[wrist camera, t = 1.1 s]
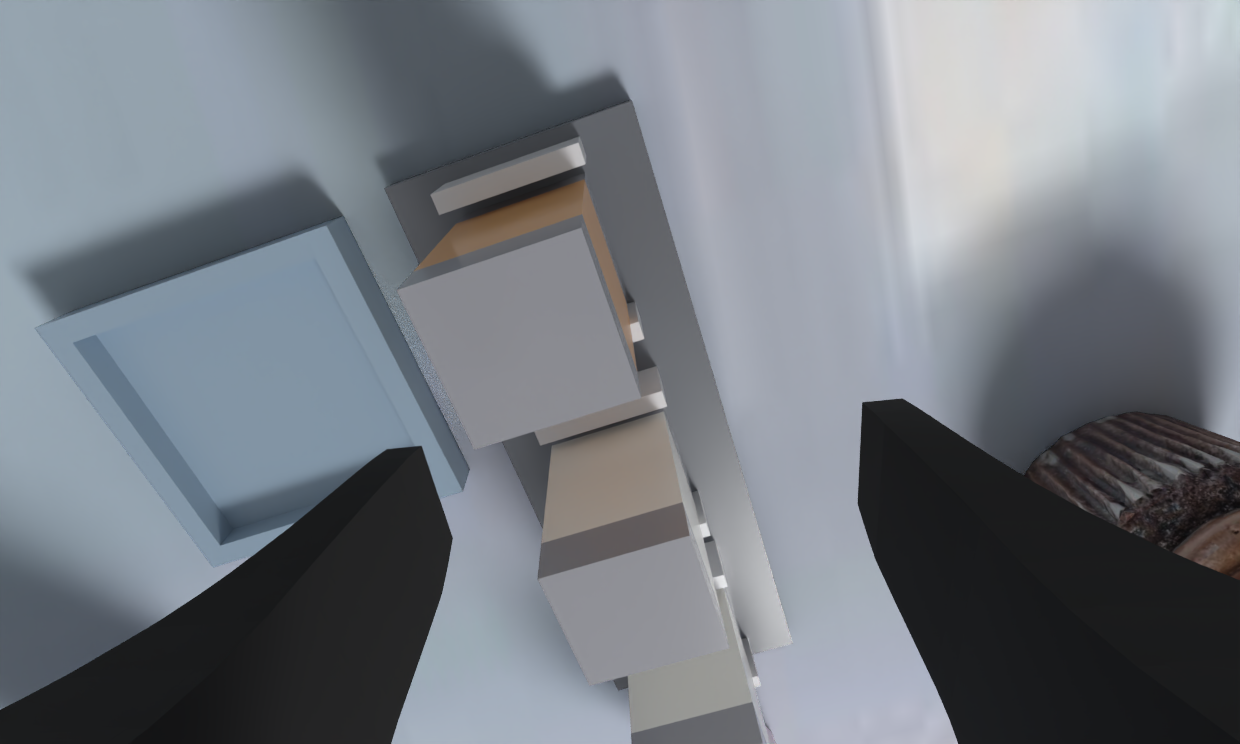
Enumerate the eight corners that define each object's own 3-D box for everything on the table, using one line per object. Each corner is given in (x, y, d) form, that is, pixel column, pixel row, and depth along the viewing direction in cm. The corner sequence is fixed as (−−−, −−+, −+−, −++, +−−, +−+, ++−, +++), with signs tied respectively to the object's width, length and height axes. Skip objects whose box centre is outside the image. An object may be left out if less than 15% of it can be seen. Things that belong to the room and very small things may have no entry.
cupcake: (1114, 347, 25) (1421, 509, 16) (1277, 459, 27) (1627, 656, 18) (940, 531, 28) (1110, 755, 19) (1099, 617, 30) (1319, 853, 21)
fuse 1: (590, 512, 26) (589, 686, 18) (553, 425, 24) (537, 579, 17) (689, 482, 25) (729, 648, 18) (659, 393, 24) (689, 535, 16)
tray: (232, 542, 27) (212, 567, 25) (68, 312, 23) (34, 328, 21) (469, 469, 26) (462, 491, 24) (343, 215, 22) (326, 225, 20)
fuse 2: (651, 655, 29) (671, 852, 22) (622, 588, 27) (633, 775, 20) (740, 631, 29) (791, 823, 21) (716, 561, 27) (762, 742, 20)
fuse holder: (617, 675, 30) (619, 731, 28) (391, 184, 21) (364, 199, 19) (788, 629, 30) (806, 682, 27) (630, 100, 20) (635, 103, 18)
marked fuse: (512, 327, 23) (474, 450, 15) (464, 214, 21) (396, 290, 14) (624, 290, 22) (641, 398, 15) (584, 172, 21) (581, 227, 13)
